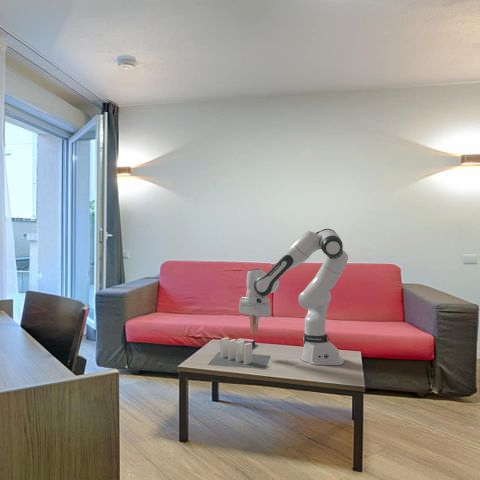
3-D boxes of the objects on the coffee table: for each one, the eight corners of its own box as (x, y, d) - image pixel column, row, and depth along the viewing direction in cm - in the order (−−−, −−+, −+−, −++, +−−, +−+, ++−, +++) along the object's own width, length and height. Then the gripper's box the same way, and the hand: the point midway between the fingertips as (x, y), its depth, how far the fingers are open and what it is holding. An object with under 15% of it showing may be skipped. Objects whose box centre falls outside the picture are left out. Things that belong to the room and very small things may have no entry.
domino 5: (250, 333, 209) (250, 315, 209) (255, 331, 212) (255, 313, 213) (252, 333, 208) (252, 315, 208) (258, 332, 211) (258, 314, 212)
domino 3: (235, 361, 200) (235, 342, 200) (241, 359, 204) (241, 340, 204) (237, 362, 199) (238, 343, 199) (243, 360, 203) (244, 341, 203)
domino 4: (243, 363, 197) (243, 344, 197) (249, 361, 201) (249, 342, 201) (245, 364, 196) (246, 345, 196) (252, 362, 199) (252, 343, 200)
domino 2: (227, 359, 204) (228, 340, 204) (234, 357, 208) (234, 339, 208) (230, 360, 203) (230, 341, 203) (236, 358, 207) (236, 339, 207)
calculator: (230, 344, 224) (238, 337, 238) (230, 351, 224) (238, 344, 238) (248, 346, 220) (255, 338, 235) (248, 353, 221) (255, 345, 235)
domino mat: (270, 356, 212) (270, 355, 212) (265, 370, 189) (265, 369, 189) (218, 353, 217) (218, 352, 217) (207, 365, 195) (207, 364, 195)
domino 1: (220, 357, 207) (220, 339, 208) (226, 355, 211) (226, 337, 211) (222, 357, 206) (222, 339, 207) (228, 355, 210) (228, 337, 210)
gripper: (236, 296, 215) (236, 321, 214) (265, 300, 201) (265, 326, 201) (243, 295, 219) (243, 319, 219) (272, 299, 206) (272, 325, 206)
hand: (254, 323), depth 210 cm, fingers closed on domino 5, 2 cm apart
